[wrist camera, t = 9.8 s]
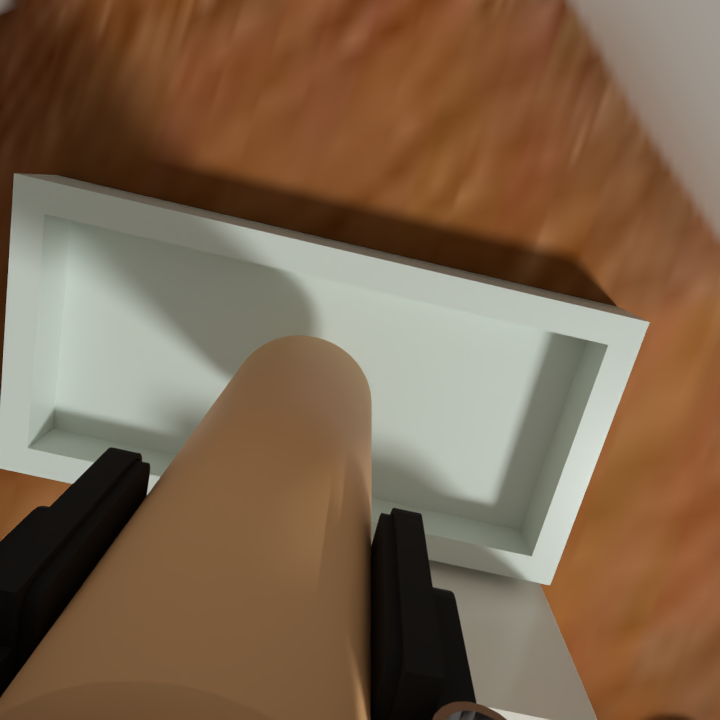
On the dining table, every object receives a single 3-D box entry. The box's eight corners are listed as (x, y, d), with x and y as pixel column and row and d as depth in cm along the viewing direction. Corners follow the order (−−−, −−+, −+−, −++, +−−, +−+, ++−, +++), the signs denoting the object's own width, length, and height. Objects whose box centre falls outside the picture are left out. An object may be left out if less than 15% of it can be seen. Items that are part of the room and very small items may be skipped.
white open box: (528, 555, 24) (602, 730, 16) (467, 725, 26) (506, 945, 19) (310, 508, 23) (280, 665, 16) (269, 685, 26) (226, 894, 18)
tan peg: (386, 353, 18) (418, 732, 6) (354, 479, 19) (322, 1023, 7) (244, 320, 18) (-55, 638, 5) (221, 450, 19) (-65, 955, 7)
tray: (617, 306, 21) (649, 321, 19) (531, 545, 24) (549, 585, 21) (56, 174, 20) (14, 173, 18) (36, 438, 23) (-4, 467, 20)
